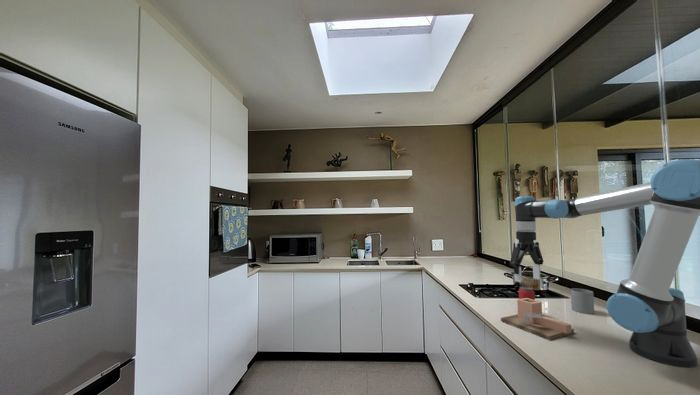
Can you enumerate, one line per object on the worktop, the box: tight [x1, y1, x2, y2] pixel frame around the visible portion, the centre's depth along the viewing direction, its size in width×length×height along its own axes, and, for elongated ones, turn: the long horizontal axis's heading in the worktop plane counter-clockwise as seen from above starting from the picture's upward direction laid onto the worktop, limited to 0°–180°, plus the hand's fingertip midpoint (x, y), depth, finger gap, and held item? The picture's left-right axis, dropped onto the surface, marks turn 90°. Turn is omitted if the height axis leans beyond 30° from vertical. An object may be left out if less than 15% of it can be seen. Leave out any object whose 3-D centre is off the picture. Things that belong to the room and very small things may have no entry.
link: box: [516, 298, 572, 334], centre depth 114 cm, size 18×6×8 cm, turn 24°
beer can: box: [518, 285, 536, 300], centre depth 132 cm, size 7×7×12 cm
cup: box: [570, 287, 595, 315], centre depth 135 cm, size 8×8×10 cm
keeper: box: [524, 311, 543, 326], centre depth 112 cm, size 3×5×7 cm, turn 68°
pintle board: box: [500, 313, 575, 341], centre depth 115 cm, size 20×16×8 cm
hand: (527, 280), depth 121 cm, fingers open, 12 cm apart
